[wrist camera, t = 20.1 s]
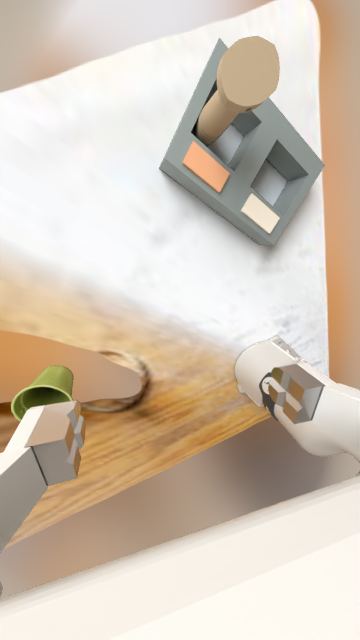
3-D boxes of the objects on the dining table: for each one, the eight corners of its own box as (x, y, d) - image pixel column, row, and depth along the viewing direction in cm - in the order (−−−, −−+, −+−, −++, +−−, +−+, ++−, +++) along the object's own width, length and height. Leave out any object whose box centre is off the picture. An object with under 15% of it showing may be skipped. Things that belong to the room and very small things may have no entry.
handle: (220, 151, 35) (280, 99, 22) (185, 159, 34) (225, 111, 21) (215, 114, 33) (278, 32, 19) (178, 122, 32) (217, 42, 19)
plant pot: (59, 349, 41) (44, 376, 33) (91, 378, 45) (84, 408, 38) (21, 374, 41) (-4, 406, 33) (56, 401, 45) (42, 435, 38)
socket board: (302, 173, 40) (327, 164, 35) (258, 244, 43) (276, 245, 38) (205, 66, 30) (221, 33, 25) (159, 168, 34) (165, 156, 29)
